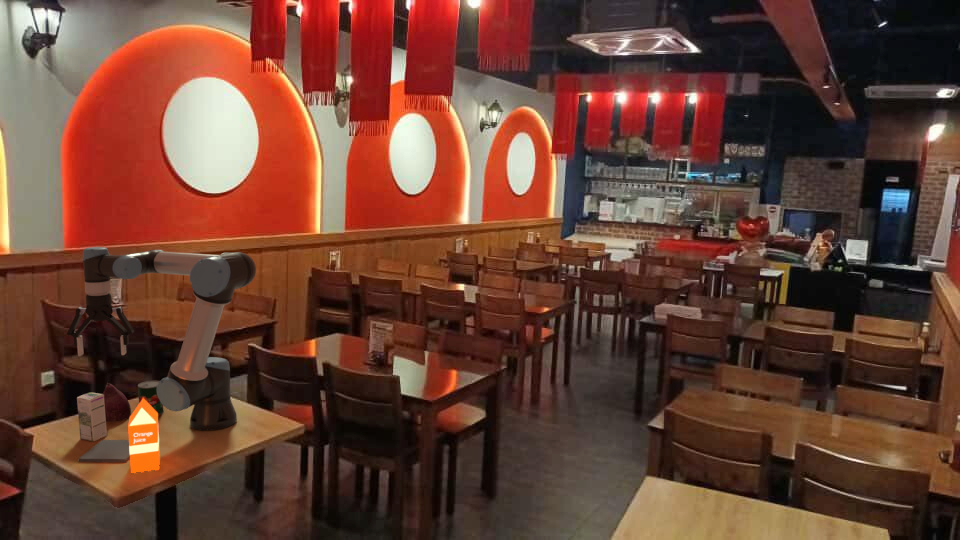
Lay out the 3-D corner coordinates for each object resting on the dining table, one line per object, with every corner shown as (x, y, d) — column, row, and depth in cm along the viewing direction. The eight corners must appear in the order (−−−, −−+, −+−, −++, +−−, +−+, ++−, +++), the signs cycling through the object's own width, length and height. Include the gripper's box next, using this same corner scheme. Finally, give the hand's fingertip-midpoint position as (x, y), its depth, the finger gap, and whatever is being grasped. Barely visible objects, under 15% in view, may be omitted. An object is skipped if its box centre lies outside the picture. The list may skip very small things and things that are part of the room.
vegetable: (118, 431, 236) (112, 396, 230) (92, 425, 238) (85, 389, 232) (138, 414, 246) (133, 379, 240) (113, 407, 248) (108, 373, 241)
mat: (146, 443, 220) (146, 440, 220) (125, 462, 206) (125, 459, 206) (102, 442, 220) (102, 439, 220) (78, 461, 206) (78, 458, 206)
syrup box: (107, 435, 225) (105, 393, 223) (92, 442, 220) (89, 399, 218) (94, 432, 227) (91, 391, 225) (79, 439, 222) (76, 396, 219)
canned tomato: (159, 407, 251) (158, 379, 249) (166, 413, 245) (165, 384, 244) (136, 412, 246) (134, 383, 244) (143, 419, 240) (141, 389, 238)
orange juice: (130, 474, 199) (126, 408, 196) (132, 461, 207) (128, 398, 204) (160, 469, 202) (156, 405, 199) (160, 457, 210) (157, 395, 207)
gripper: (141, 290, 234) (145, 350, 238) (62, 291, 230) (67, 352, 233) (134, 295, 227) (138, 356, 230) (52, 296, 223) (57, 358, 226)
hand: (102, 354), depth 232 cm, fingers open, 13 cm apart
